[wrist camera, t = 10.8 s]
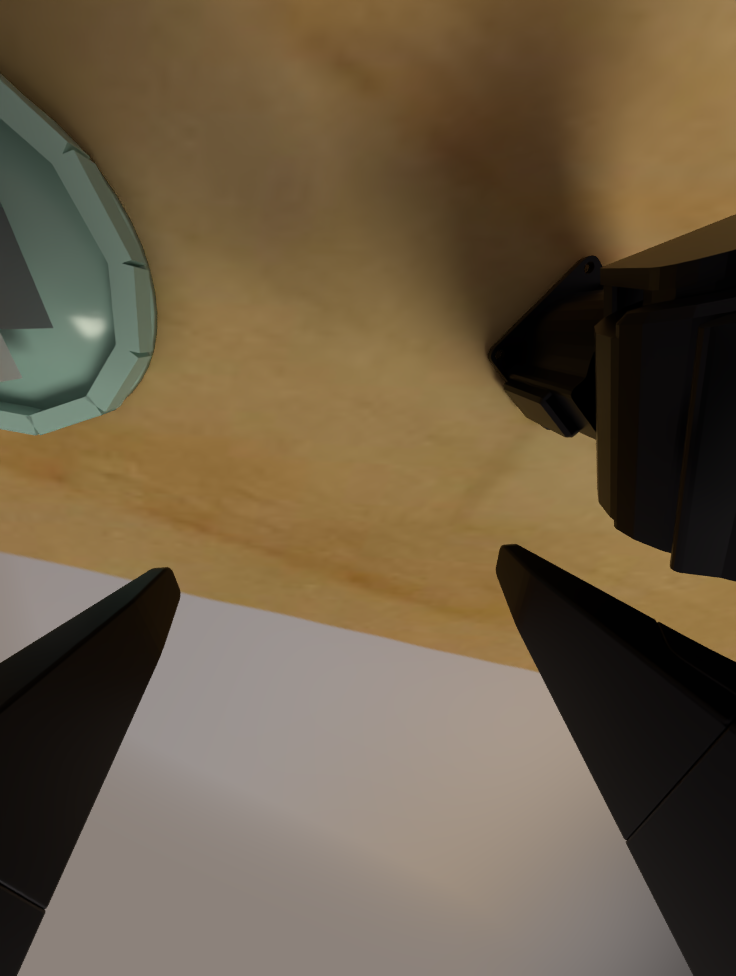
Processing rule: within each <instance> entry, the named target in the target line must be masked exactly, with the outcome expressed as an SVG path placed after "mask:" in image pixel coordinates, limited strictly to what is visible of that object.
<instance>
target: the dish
mask: <svg viewBox="0 0 736 976" xmlns="http://www.w3.org/2000/svg"><path fill="white" fill-rule="evenodd" d="M89 158H90V156H89V155H88V154H87V153H85V152H84V151H83V150H82V149H81V148H80V146H79V145H78V144H77V143H76V142H75V141H74V140H73V139H72V138H71V137H70V136H69V135H68V134H67V133H66V132H65V131H64V130H63V129H62V128H61V127H60V126H59V125H58V124H57V123H56V122H55V121H54V120H53V119H52V118H50V117H49V116H48V115H47V114H46V113H45V112H43V111H42V110H41V109H40V108H39V107H37V106H36V105H35V104H34V103H33V102H32V101H30V100H29V99H28V98H26V97H25V96H24V95H23V94H22V93H21V92H20V91H19V90H18V89H17V88H16V87H14V86H13V85H12V84H11V83H10V82H9V81H8V80H7V79H6V78H5V77H4V76H3V75H2V74H0V202H1V205H2V207H3V209H4V211H5V214H6V216H7V218H8V221H9V223H10V226H11V228H12V230H13V233H14V235H15V238H16V240H17V242H18V245H19V247H20V249H21V252H22V254H23V257H24V259H25V261H26V264H27V266H28V269H29V271H30V273H31V276H32V278H33V280H34V283H35V285H36V288H37V290H38V292H39V295H40V297H41V300H42V302H43V304H44V307H45V309H46V311H47V314H48V316H49V319H50V321H51V323H52V326H53V328H43V329H0V333H1V335H2V337H3V339H4V341H5V343H6V345H7V348H8V350H9V352H10V354H11V356H12V358H13V360H14V362H15V364H16V366H17V368H18V370H19V372H20V374H21V376H22V378H21V379H15V380H9V381H3V382H0V429H3V430H9V431H14V432H20V433H26V434H31V435H38V434H40V435H43V434H46V433H49V432H52V431H55V430H58V429H61V428H64V427H67V426H70V425H73V424H76V423H79V422H82V421H85V420H88V419H91V418H94V417H97V416H100V415H103V414H105V413H108V412H111V411H113V410H116V408H118V407H120V406H121V404H122V402H123V401H124V400H125V399H126V398H127V397H128V396H129V395H130V394H131V393H132V392H133V391H134V390H135V388H136V387H137V386H138V384H139V383H140V382H141V381H142V379H143V377H144V375H145V373H146V371H147V369H148V367H149V365H150V361H151V358H152V355H153V352H154V348H155V342H156V335H157V305H156V296H155V289H154V285H153V280H152V276H151V272H150V268H149V265H148V262H147V259H146V256H145V253H144V250H143V247H142V245H141V242H140V240H139V238H138V236H137V233H136V231H135V229H134V227H133V225H132V222H131V220H130V218H129V217H128V215H127V213H126V211H125V210H124V208H123V206H122V204H121V203H120V201H119V199H118V197H117V196H116V194H115V193H114V191H113V190H112V188H111V187H110V185H109V184H108V182H107V181H106V180H105V178H104V177H103V175H102V174H101V172H100V171H99V169H98V168H97V166H96V164H95V163H93V162H92V161H91V160H90V159H89Z"/></svg>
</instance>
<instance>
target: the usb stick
mask: <svg viewBox="0 0 736 976" xmlns="http://www.w3.org/2000/svg"><path fill="white" fill-rule="evenodd" d="M43 328H53V326H52V323H51V321H50V319H49V316H48V314H47V311H46V309H45V307H44V304H43V302H42V300H41V297H40V295H39V292H38V290H37V288H36V285H35V283H34V280H33V278H32V276H31V273H30V271H29V269H28V266H27V264H26V261H25V259H24V257H23V254H22V252H21V249H20V247H19V245H18V242H17V240H16V238H15V235H14V233H13V230H12V228H11V226H10V223H9V221H8V218H7V216H6V214H5V211H4V209H3V207H2V205H1V202H0V329H43ZM21 378H22V376H21V374H20V372H19V370H18V368H17V366H16V364H15V362H14V360H13V358H12V356H11V354H10V352H9V350H8V348H7V345H6V343H5V341H4V339H3V337H2V335H1V333H0V382H3V381H9V380H15V379H21Z"/></svg>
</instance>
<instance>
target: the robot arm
mask: <svg viewBox="0 0 736 976" xmlns="http://www.w3.org/2000/svg"><path fill="white" fill-rule="evenodd" d="M586 264H588V265H589V270H588V272H587V273H585V272H584V267H585V265H586ZM499 350H500V351H501V356H500V358H498V359H496V357H495V355H496V352H497V351H499ZM488 359H489V361H490V363H491V364H492V365H493V366H494V368H495V369H496V370H497V371H498V372H499V374H500V375H501V376H502V377H503V379H504V380H505V381H506V383H505V384H504V390H505V392H506V393H507V394H508V395H509V397H510V398H511V399H512V400H513V402H514V403H515V404H516V405H517V406H518V408H519V409H520V410H521V411H522V413H523V414H524V415H525V416H526V417H527V418H529V419H530V420H532V421H534V422H536V423H538V424H540V425H541V426H542V427H543V428H545V429H547V430H552V431H554V432H556V433H558V434H560V435H562V436H564V437H573V436H575V435H576V434H577V433H578V432H580V433H582V434H584V435H587V436H589V437H591V438H593V439H595V440H596V449H597V490H598V500H599V503H600V505H601V506H602V507H603V508H604V510H605V511H606V512H607V513H608V515H609V516H610V517H611V518H612V519H613V520H614V527H615V528H616V529H617V530H619V531H621V532H622V533H624V534H626V535H627V536H629V537H631V538H632V539H634V540H637V541H639V542H642V543H644V544H647V545H649V546H652V547H654V548H657V549H659V550H662V551H665V552H669V553H671V560H670V568H671V569H672V570H673V571H676V572H680V573H687V574H695V575H703V576H711V577H719V578H724V579H728V580H732V581H736V214H735V215H733V216H730V217H728V218H725V219H722V220H720V221H717V222H715V223H712V224H710V225H707V226H705V227H702V228H700V229H697V230H695V231H692V232H690V233H687V234H685V235H682V236H679V237H677V238H674V239H672V240H669V241H667V242H664V243H662V244H659V245H657V246H654V247H652V248H649V249H647V250H644V251H642V252H639V253H636V254H634V255H631V256H629V257H626V258H624V259H621V260H619V261H616V262H614V263H611V264H609V265H606V266H604V267H602V265H601V263H600V261H599V259H598V258H597V257H596V256H588V257H584V258H582V259H581V260H579V261H578V262H577V263H576V264H575V265H574V266H573V267H572V268H571V269H570V270H569V271H568V272H567V273H566V274H565V275H564V276H563V277H562V278H561V279H560V280H559V281H558V282H557V283H556V284H555V285H554V286H553V287H552V288H551V289H550V290H549V291H548V292H547V293H546V294H545V295H544V296H543V297H542V298H541V299H540V300H539V301H538V302H537V303H536V304H535V305H534V306H533V307H532V308H531V309H530V310H529V311H528V312H527V313H526V314H525V315H524V316H523V317H522V318H521V319H520V320H519V321H518V322H517V323H516V324H515V325H514V326H513V327H512V328H511V329H510V330H509V331H508V332H507V333H506V334H505V335H504V336H503V337H502V338H501V339H500V340H499V341H498V342H497V343H496V344H495V345H494V346H493V347H492V348H491V349H490V350H489V353H488ZM496 574H497V578H498V580H499V583H500V585H501V588H502V591H503V593H504V596H505V599H506V601H507V604H508V606H509V609H510V612H511V614H512V617H513V619H514V622H515V624H516V627H517V629H518V631H519V633H520V635H521V637H522V639H523V641H524V643H525V645H526V647H527V649H528V651H529V653H530V655H531V657H532V658H533V660H534V662H535V664H536V666H537V668H538V670H539V672H540V674H541V676H542V678H543V680H544V682H545V684H546V686H547V688H548V690H549V692H550V694H551V696H552V698H553V700H554V702H555V704H556V706H557V708H558V710H559V712H560V714H561V716H562V717H563V720H564V721H565V723H566V725H567V727H568V729H569V731H570V733H571V735H572V737H573V739H574V741H575V743H576V745H577V747H578V749H579V751H580V753H581V755H582V757H583V759H584V761H585V763H586V765H587V767H588V769H589V771H590V773H591V774H592V776H593V779H594V781H595V782H596V784H597V786H598V788H599V790H600V792H601V794H602V796H603V798H604V800H605V802H606V804H607V806H608V808H609V810H610V812H611V814H612V816H613V818H614V820H615V822H616V824H617V826H618V828H619V830H620V832H621V834H622V836H623V838H624V839H625V840H627V841H626V844H627V846H628V848H629V850H630V852H631V854H632V856H633V858H634V860H635V862H636V864H637V866H638V868H639V870H640V872H641V873H642V876H643V878H644V880H645V882H646V883H647V885H648V887H649V889H650V891H651V893H652V895H653V897H654V899H655V901H656V903H657V905H658V907H659V909H660V911H661V913H662V915H663V917H664V919H665V921H666V923H667V925H668V927H669V929H670V931H671V933H672V935H673V937H674V938H675V940H676V942H677V945H678V946H679V948H680V950H681V952H682V954H683V956H684V958H685V960H686V962H687V964H688V966H689V968H690V970H691V972H692V974H693V976H736V662H735V661H733V660H731V659H729V658H727V657H725V656H723V655H721V654H719V653H717V652H715V651H713V650H711V649H709V648H707V647H705V646H703V645H701V644H699V643H697V642H695V641H694V640H692V639H690V638H688V637H686V636H684V635H682V634H680V633H678V632H677V631H675V630H673V629H671V628H669V627H668V626H666V625H664V624H662V623H660V622H656V620H655V619H653V618H651V617H649V616H647V615H645V614H644V613H642V612H640V611H638V610H636V609H635V608H633V607H631V606H629V605H627V604H625V603H624V602H622V601H620V600H618V599H616V598H614V597H613V596H611V595H609V594H607V593H605V592H603V591H602V590H600V589H598V588H596V587H594V586H592V585H591V584H589V583H587V582H585V581H583V580H581V579H580V578H578V577H576V576H574V575H572V574H571V573H569V572H567V571H565V570H563V569H561V568H560V567H558V566H556V565H554V564H552V563H550V562H549V561H547V560H545V559H543V558H541V557H539V556H538V555H536V554H534V553H532V552H530V551H528V550H527V549H525V548H523V547H521V546H519V545H517V544H507V545H502V546H501V547H500V550H499V555H498V560H497V565H496ZM179 600H180V589H179V586H178V583H177V581H176V578H175V576H174V573H173V571H172V570H171V569H170V568H168V567H163V568H153V569H151V570H149V571H147V572H146V573H144V574H143V575H141V576H139V577H138V578H136V579H135V580H133V581H131V582H130V583H128V584H127V585H125V586H124V587H122V588H120V589H119V590H117V591H115V592H114V593H112V594H110V595H109V596H107V597H106V598H104V599H102V600H101V601H99V602H98V603H96V604H94V605H93V606H91V607H89V608H88V609H86V610H85V611H83V612H82V613H80V614H78V615H77V616H75V617H74V618H72V619H70V620H69V621H67V622H65V623H64V624H62V625H61V626H59V627H57V628H56V629H54V630H53V631H51V632H49V633H48V634H46V635H44V636H43V637H41V638H40V639H38V640H36V641H35V642H33V643H32V644H30V645H28V646H27V647H25V648H24V649H22V650H20V651H19V652H17V653H16V654H14V655H12V656H11V657H9V658H8V659H6V660H4V661H3V662H1V663H0V976H17V974H18V972H19V970H20V968H21V965H22V963H23V961H24V959H25V956H26V954H27V952H28V950H29V947H30V945H31V943H32V941H33V939H34V936H35V934H36V932H37V929H38V927H39V925H40V923H41V921H42V919H43V917H44V914H45V909H46V908H47V906H48V905H49V902H50V900H51V898H52V896H53V893H54V891H55V889H56V887H57V885H58V882H59V880H60V878H61V875H62V873H63V871H64V869H65V867H66V865H67V862H68V860H69V858H70V856H71V854H72V851H73V849H74V847H75V845H76V843H77V840H78V838H79V836H80V834H81V831H82V829H83V827H84V825H85V823H86V820H87V818H88V816H89V814H90V811H91V809H92V807H93V805H94V803H95V800H96V798H97V796H98V794H99V792H100V789H101V787H102V785H103V783H104V780H105V778H106V776H107V774H108V771H109V769H110V767H111V765H112V763H113V760H114V758H115V756H116V754H117V752H118V749H119V747H120V745H121V743H122V740H123V738H124V736H125V734H126V732H127V729H128V727H129V725H130V723H131V721H132V718H133V716H134V714H135V712H136V709H137V707H138V705H139V703H140V701H141V698H142V696H143V694H144V692H145V689H146V687H147V685H148V683H149V681H150V678H151V676H152V674H153V672H154V669H155V667H156V665H157V663H158V660H159V658H160V656H161V653H162V650H163V648H164V645H165V642H166V639H167V636H168V633H169V630H170V627H171V624H172V621H173V618H174V615H175V612H176V609H177V606H178V603H179Z"/></svg>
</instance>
